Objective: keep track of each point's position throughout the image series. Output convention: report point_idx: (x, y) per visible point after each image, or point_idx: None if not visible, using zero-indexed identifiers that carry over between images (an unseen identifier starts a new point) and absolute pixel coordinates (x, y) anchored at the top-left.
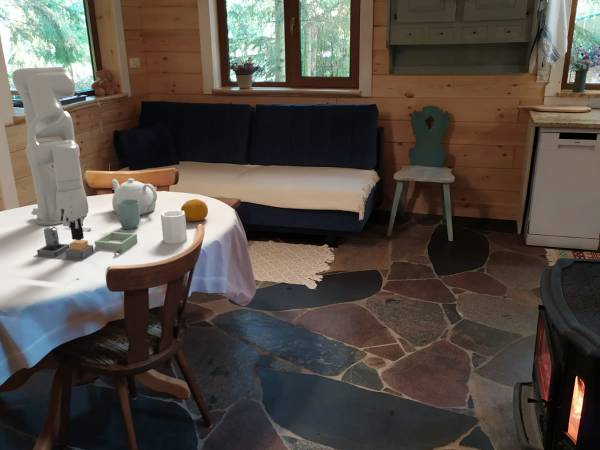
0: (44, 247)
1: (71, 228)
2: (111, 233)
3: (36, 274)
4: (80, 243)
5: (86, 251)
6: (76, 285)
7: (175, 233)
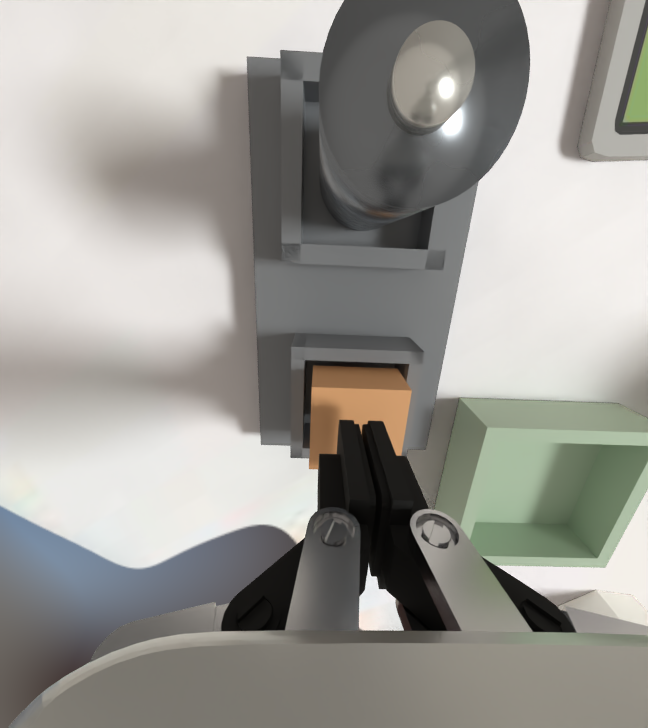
0: None
1: (318, 528)
2: (644, 443)
3: (74, 275)
4: None
5: None
6: (78, 516)
7: None
